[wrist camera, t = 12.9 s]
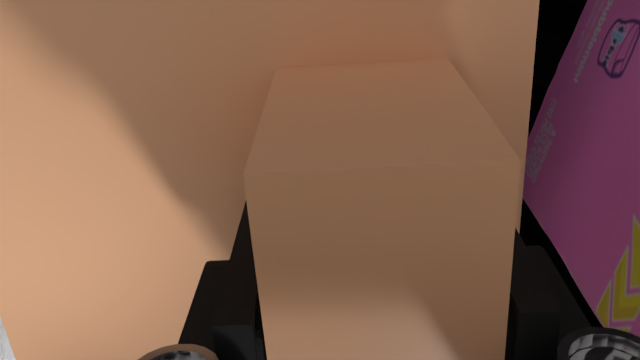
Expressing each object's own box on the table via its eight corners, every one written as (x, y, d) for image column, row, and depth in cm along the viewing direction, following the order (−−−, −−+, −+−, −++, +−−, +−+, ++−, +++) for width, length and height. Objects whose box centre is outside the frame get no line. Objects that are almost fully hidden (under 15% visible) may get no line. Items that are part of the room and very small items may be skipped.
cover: (519, -77, 11) (702, -49, 6) (487, 384, 16) (570, 644, 10) (-69, -36, 11) (-428, 25, 6) (70, 399, 16) (-62, 655, 11)
